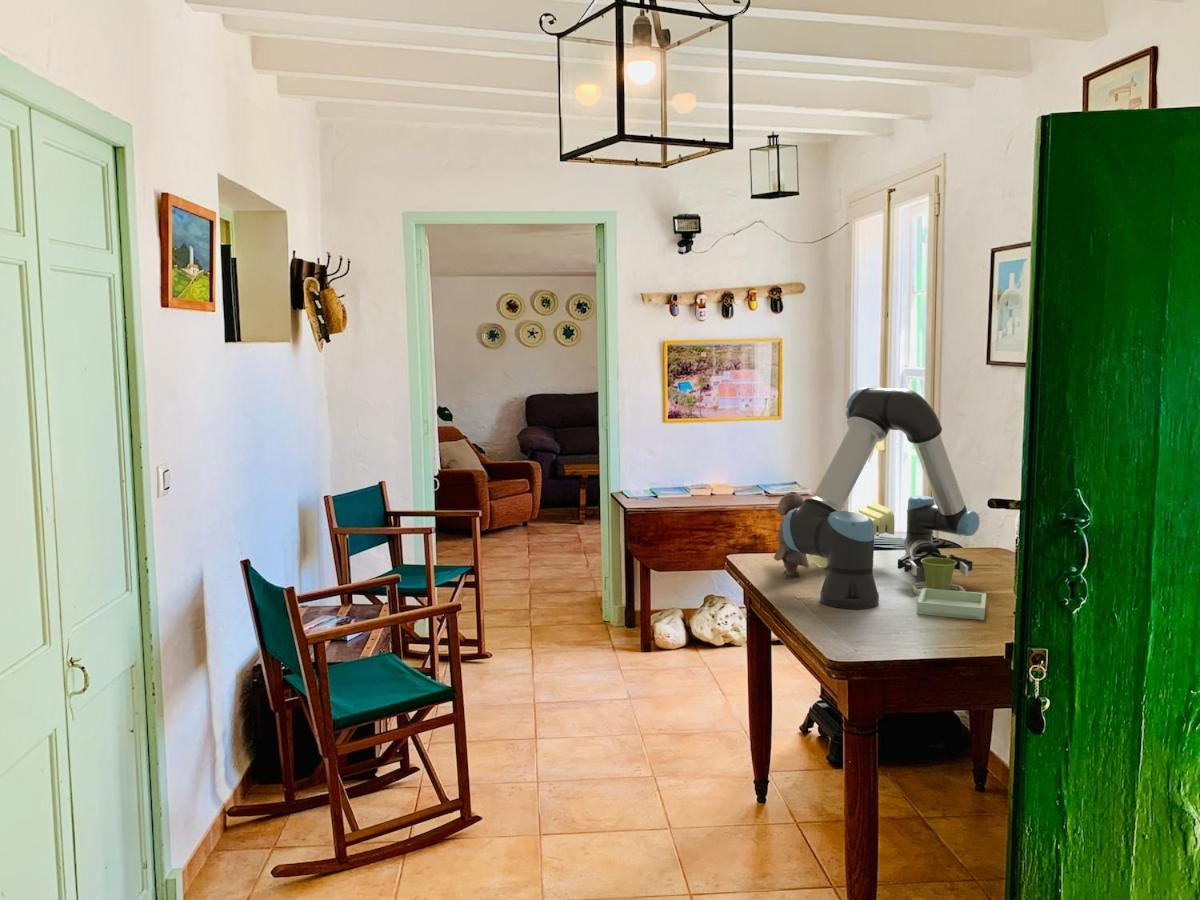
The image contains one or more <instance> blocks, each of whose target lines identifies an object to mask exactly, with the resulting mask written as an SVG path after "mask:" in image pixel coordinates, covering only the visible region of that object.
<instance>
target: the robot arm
mask: <svg viewBox="0 0 1200 900" xmlns="http://www.w3.org/2000/svg"><path fill="white" fill-rule="evenodd" d="M845 408H846V409H847V410H846V411H845V414H846V415H845V416H846V419H847V421H846V424H847V427H848V430H847V432H846V433H845V435H844V438H842V441H841V443H840V445H839V447H838V448H837V450H836V452H835V454H834V457H833V458H832V459H831V461H830V463H829V464H828V467H827V469H826V471H825V473H824V475H823V476H822V478H821V481H820V482H819V484H818V486H817V487H816V490H815V491H814V493H813V495H812V496H811V497H806V498H805V499H803V501H804V502H803V504H802V506H800V507H799V508H797V509H793V510H791V511H789V512H788V513H787V515H786V517H785V516H784V518H785V519H784V518H783V519H784V522H783V537H784V540H785V542H786V544H787V545H788V546H789V547H790V548H791V549H792V550H795V551H798V552H800V553H803V554H806V555H809V554H810V555H815V556H819V557H824V558H828V568H827V571H826V572H827V573H826V575H825V579H824V581H823V583H822V587H821V589H820V594H819V597H820V598H819V601H820V602H821V603H822V604H824V605H827V606H829V607H834V608H835V607H836V608H842V609H848V610H849V609H854V610H859V609H861V610H862V609H871V608H873V607H874V608H875V607H877V606H878V605H879V604H880V594H879V592H878V590H877V588H878V587H877V586H876V581H875V578H874V552H875V551H874V550H875V547H874V546H875V537H876V536H875V534H874V524H873V521H872V520H871V519H870V518H869V517H867V516H865V515H862V514H859V513H855V511H847V510H843V508H844V506H845V504H846V503H847V500H848V498H849V496H850V494H851V493H852V490H853V489H854V486H855V485H856V483H857V481H858V479H859V477H860V475H861V473H862V471H863V469H864V468H865V466H866V464H867V462H868V460H869V458H870V457H871V454H872V452H873V450H874V449H875V446H876V444H877V443H880V442H884V440H885V439H886V437H888V434H889V432H890V431H893V430H894V431H900V432H902V433H903V434H904V435H905V436H906V439H907V440H908V442H909V443H910V444H913V447H914V448H915V452H916V455H917V457H918V459H919V463H920V465H921V468H922V470H923V473H924V476H925V478H926V480H927V483H928V486H929V489H930V491H931V493H932V496H928V495H913V496H910V497H909V498H908V499H907V510H906V512H907V513H906V514H907V515H906V516H907V517H906V534H905V535H906V537H905V539H904V542H903V548H904V551H905V553H904V555H903V556H902V557H899V558H898V559H897V569H899V570H900V569H904V573H908V572H910V573H911V574H912V575H913V576H917V569H918V568H920V569H922V570H924V568H923V565H922V563H921V559H924V558H946V559H951V560H955V561H956V562H957V564H956V565H955V568H954V570H957V571H958V570H959V572H960V573H961V574H962V576H964V577H966V578H967V577H969V572H970V571H971V572H972V571H973V561H972V560H968V559H967V558H962V557H958V556H956V555H954V554H949V555H948V556H947V555H944V554H941V551H940V550H939V548H937V546H936V545H935V544H934V543H933V534H934V531H935V532H941V533H946V534H952V535H956V536H962V537H971V536H972V537H973V536H974V535H975V534H976V532H978V529H979V527H980V516H979V514H978V513H977V512H976V511H974V510H971V509H967V507H966V503H965V501H964V498H963V495H962V492H961V489H960V487H959V484H958V482H957V479H956V478H957V477H956V476H955V473H954V470H953V468H952V464H951V461H950V459H949V456H948V453H947V450H946V446H945V445H944V442H943V440H942V437H941V434H942V432H943V428H942V426H941V422H940V420H939V418H938V415H937V414H936V412H935V411H934V409H933V407H931V405H930V404H929V403H928V401H927V400H926V399H925V398H924V397H923V396H921V395H920V394H918V393H917V392H916V391H914V390H911V389H910V388H909V389H908V388H889V387H888V388H887V387H885V388H884V387H878V386H869V387H861V388H859V389H856V390H855V391H854V392H853V393H852V394H851V395H850V397H849V399H848V400H847V403H846V407H845ZM917 567H918V568H917Z"/></svg>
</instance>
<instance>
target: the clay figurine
mask: <svg viewBox="0 0 1200 900" xmlns="http://www.w3.org/2000/svg"><path fill="white" fill-rule="evenodd" d="M803 502H804V498H803V497H802V495H801V494H800V493H798V492H795V491H789V492H787V493H785V494H784V495H783V496H782V498H781V499H780V500H779V501H778V506H777V508H776V510H775V511H776V513H777V514H778V515H780V516H782V517H783V516H784V517H783V519H782V520H781V521H780V524H779V529H778V533H777V541H778V543H779V546H778V547H777V550H776V552H775V554H774V556H773V559H774V560H775V561H777V562H778V561H781V560H782V562H783V565H784V568H785V571H784V572H783V578H785V579H789V578H800V577H801V575H800V574H801V573H800V571H798V566H802V567H805V568H806V569H808V568H809V561H808V560H807V558H808V556H807V554H803V553H800V552H798V551H795V550H792V549H791V548H790V547H789V546H788V545H787V544H786V542H785V540H784V537H783V522H784V519H785V517H786V515H787V513H788V512H789V511H791V510H793V509H798V508H799V509H800V507H801V506H802V504H803Z"/></svg>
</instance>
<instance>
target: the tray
mask: <svg viewBox="0 0 1200 900" xmlns="http://www.w3.org/2000/svg"><path fill="white" fill-rule="evenodd" d="M921 588H922V589H921V590H922V591H921V594H920V595H919V596H918V600H917V602H916V604H917V606H916V614H917V615H926V616H927V615H928V616H935V617H936V616H939V617H947V618H948V617H949V618H957V619H958V618H959V619H969V620H980V621H984V620H985V615H986V606H987V605H986V604H987V593H985V592H975V591H966V590H965V591H966V592H965V591H958V590H954V589H950V590H942V589H930V588H926V587H921Z"/></svg>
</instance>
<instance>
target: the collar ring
mask: <svg viewBox="0 0 1200 900" xmlns="http://www.w3.org/2000/svg"><path fill="white" fill-rule="evenodd" d="M923 586H924V587H926V583H925V581H919V582H915V583H911V584H910V590H911V592H912V591H913V592H912V593H913V594H914V595H919V596H920V594H921V591H922V589H919V587H920V588H924V587H923ZM950 588H951V589H950V590H954V589H955V590H954V591H958V590H959V591H965V592H967V591H966V589H965V588H964V587H963V586H962V585H958V584H954V583H951V587H950Z"/></svg>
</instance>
